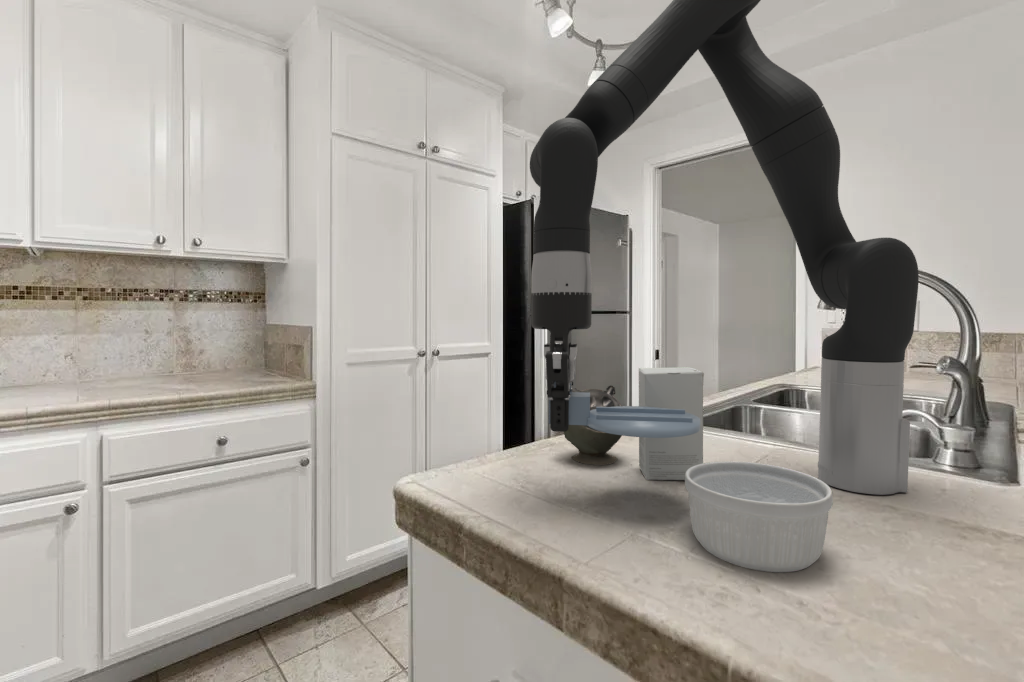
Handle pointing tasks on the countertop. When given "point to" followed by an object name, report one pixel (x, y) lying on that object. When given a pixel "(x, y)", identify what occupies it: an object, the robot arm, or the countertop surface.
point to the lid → (631, 419)
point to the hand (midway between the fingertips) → (560, 426)
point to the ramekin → (758, 514)
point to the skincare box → (671, 393)
